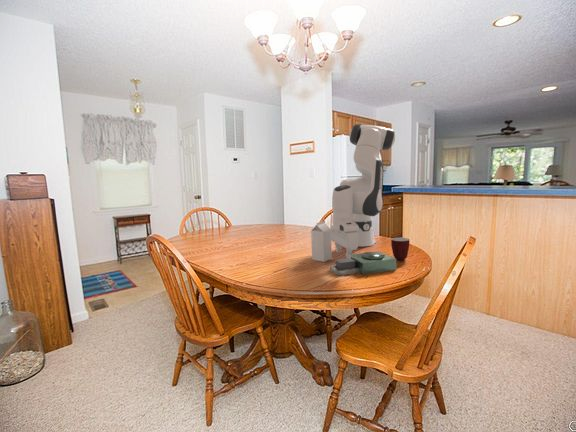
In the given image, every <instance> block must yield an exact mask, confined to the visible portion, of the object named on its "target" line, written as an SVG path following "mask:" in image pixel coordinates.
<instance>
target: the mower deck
mask: <svg viewBox="0 0 576 432" xmlns="http://www.w3.org/2000/svg"><path fill="white" fill-rule="evenodd" d="M351 259H353V260H354V261H355V268H352V269H345V270H338V269H336V265H335V264H331V265H329V271H331V272H332V273H333V274H335V275H336V276H337V277H340V276H347V275H354V274H361V275H362V276H365V275H370V274H372V275H373V274H377V273H387V272H391V271H397V260H396V258H395V257H394V256H391V255H388V254H386V253H383V252H381V251H379V250H377V251H365V252H361V253H351Z"/></svg>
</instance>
